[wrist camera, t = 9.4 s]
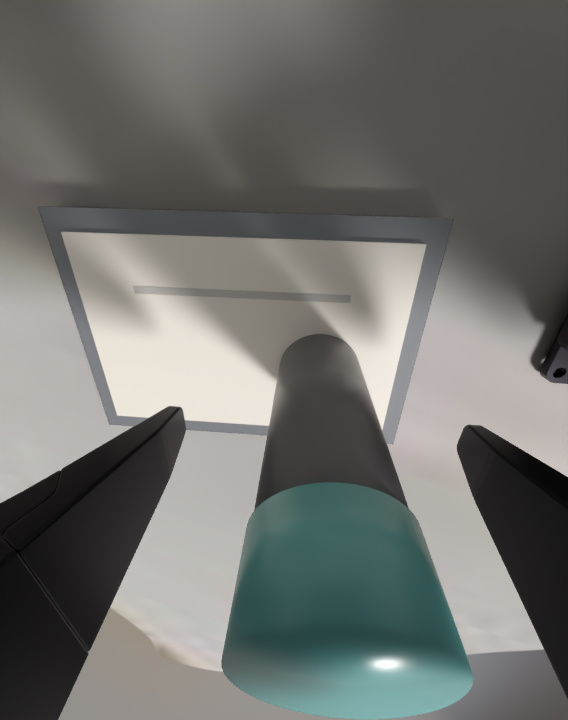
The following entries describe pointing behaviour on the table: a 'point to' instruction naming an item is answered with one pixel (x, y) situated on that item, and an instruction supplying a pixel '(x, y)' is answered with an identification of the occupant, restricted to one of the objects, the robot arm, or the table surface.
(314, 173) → the table surface
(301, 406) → the marker
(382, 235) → the writing board
